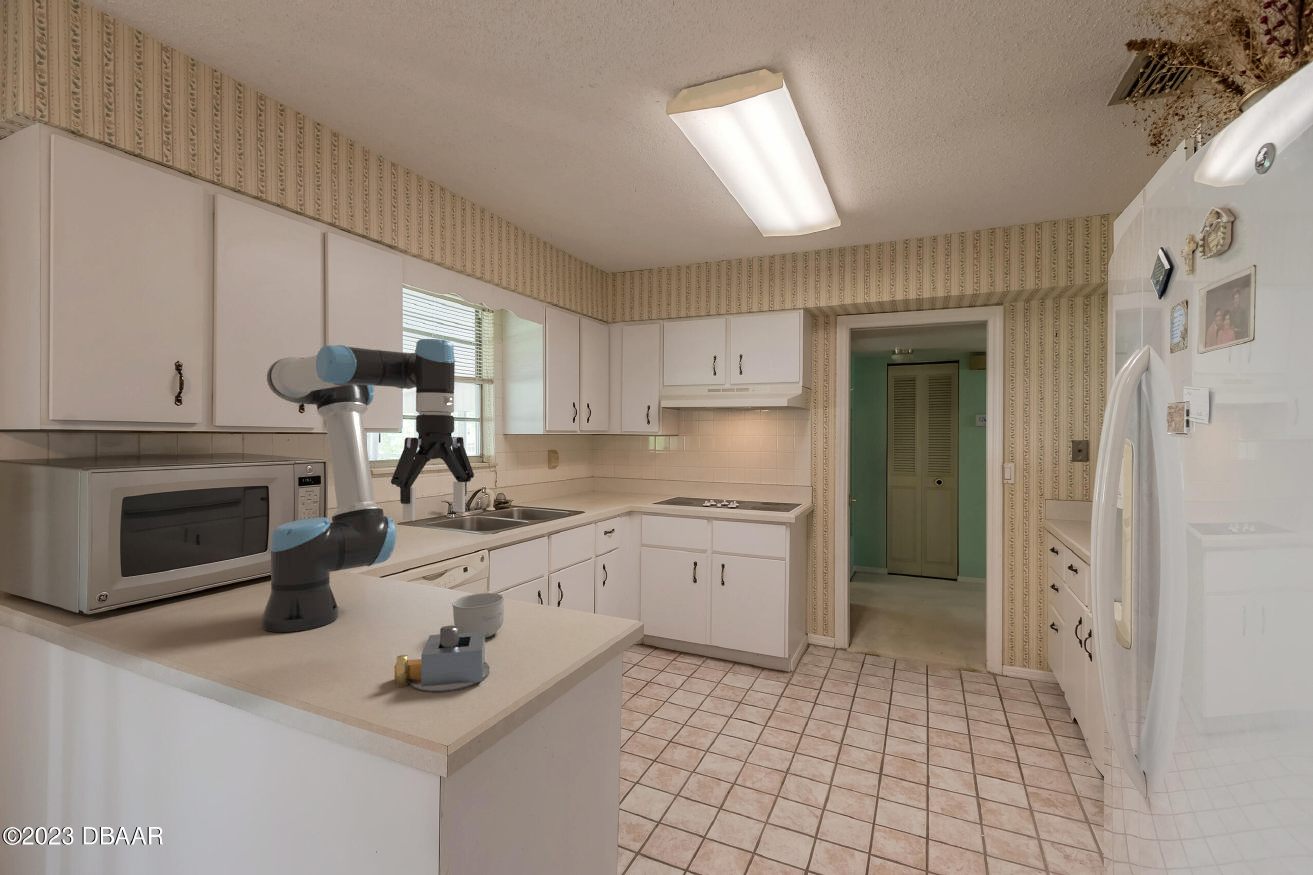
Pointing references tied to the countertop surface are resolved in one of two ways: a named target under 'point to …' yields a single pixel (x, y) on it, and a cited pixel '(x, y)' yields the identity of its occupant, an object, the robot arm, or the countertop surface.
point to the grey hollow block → (449, 661)
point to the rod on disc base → (447, 640)
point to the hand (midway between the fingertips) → (435, 515)
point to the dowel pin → (402, 670)
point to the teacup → (479, 613)
